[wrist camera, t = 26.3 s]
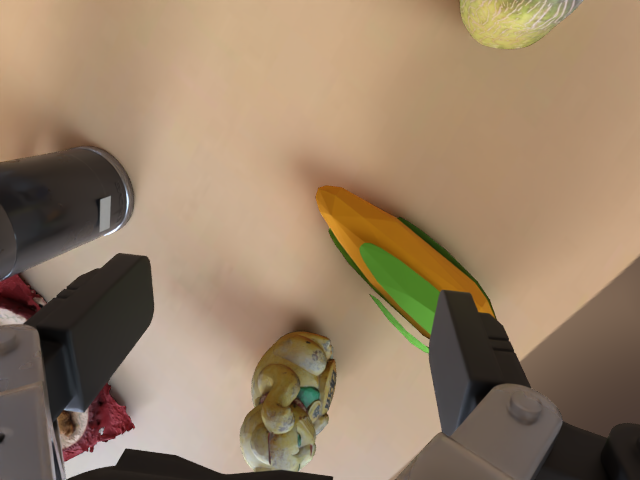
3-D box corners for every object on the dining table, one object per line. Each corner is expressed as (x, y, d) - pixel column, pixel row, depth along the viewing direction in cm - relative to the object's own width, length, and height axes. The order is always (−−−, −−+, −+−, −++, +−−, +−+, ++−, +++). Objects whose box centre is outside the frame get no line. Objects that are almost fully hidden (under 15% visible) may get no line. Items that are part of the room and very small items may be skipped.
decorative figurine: (345, 404, 50) (302, 527, 36) (273, 395, 52) (207, 509, 38) (339, 323, 47) (291, 425, 33) (263, 318, 49) (188, 411, 35)
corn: (457, 404, 37) (272, 235, 37) (452, 355, 44) (298, 214, 44) (531, 348, 35) (333, 165, 34) (513, 306, 42) (350, 155, 41)
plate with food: (14, 253, 56) (-13, 263, 53) (141, 421, 58) (123, 440, 55) (-71, 333, 66) (-98, 345, 62) (41, 473, 68) (21, 492, 65)
